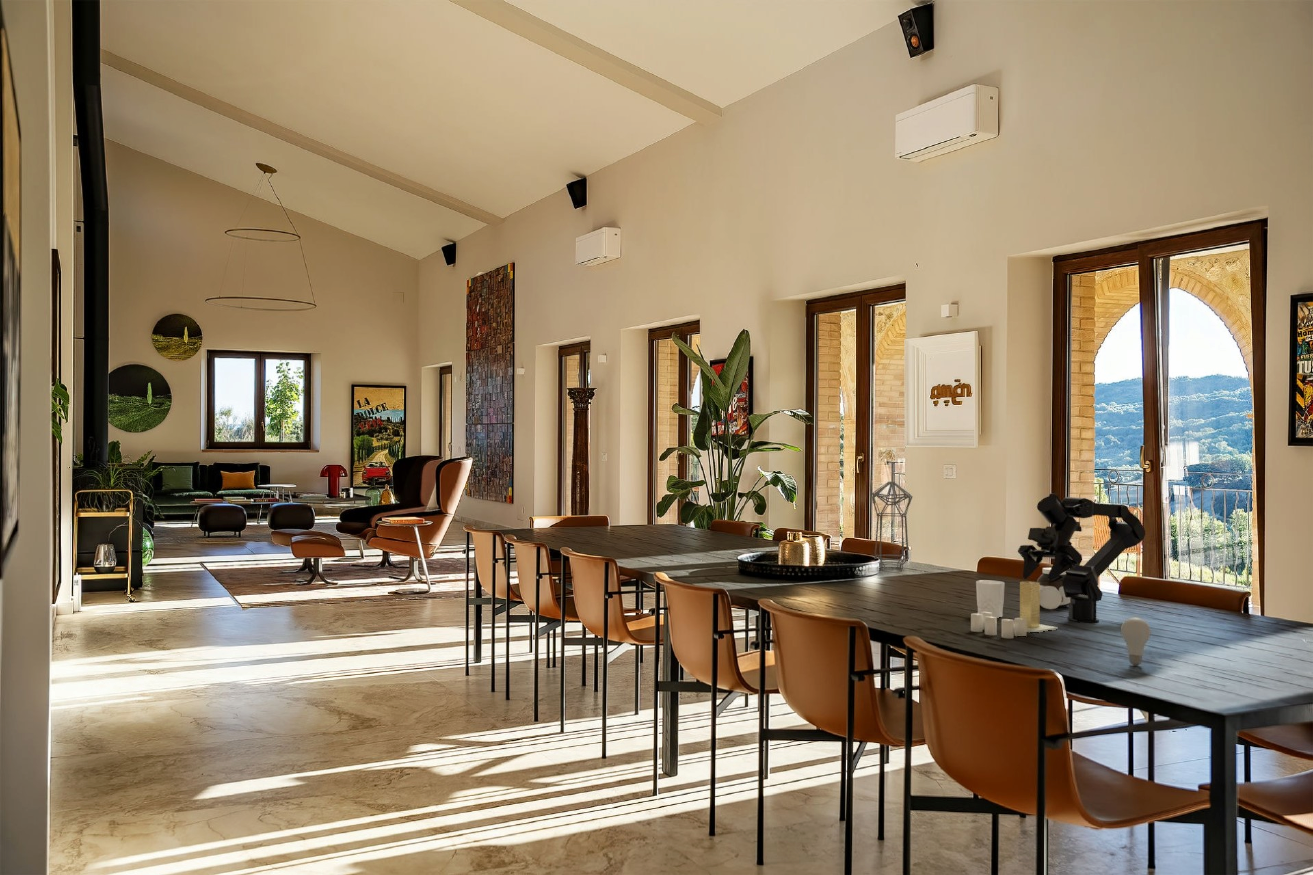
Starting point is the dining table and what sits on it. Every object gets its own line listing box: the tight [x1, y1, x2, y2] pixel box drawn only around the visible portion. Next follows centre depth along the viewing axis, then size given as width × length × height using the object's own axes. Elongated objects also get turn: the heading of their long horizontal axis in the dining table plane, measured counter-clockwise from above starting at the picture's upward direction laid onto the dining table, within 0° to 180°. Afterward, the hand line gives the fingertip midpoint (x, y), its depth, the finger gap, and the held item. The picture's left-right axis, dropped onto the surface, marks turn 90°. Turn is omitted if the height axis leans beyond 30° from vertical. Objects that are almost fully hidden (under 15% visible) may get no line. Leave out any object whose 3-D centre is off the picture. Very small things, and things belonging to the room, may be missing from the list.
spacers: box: [970, 612, 1028, 639], centre depth 268 cm, size 8×14×4 cm, turn 32°
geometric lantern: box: [870, 480, 913, 571], centre depth 400 cm, size 16×16×35 cm
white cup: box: [975, 579, 1005, 619], centre depth 294 cm, size 8×8×10 cm
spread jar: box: [1036, 567, 1070, 610], centre depth 311 cm, size 12×11×12 cm
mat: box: [1027, 623, 1058, 633], centre depth 275 cm, size 10×10×1 cm
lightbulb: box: [1120, 617, 1151, 667], centre depth 230 cm, size 6×6×11 cm
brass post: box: [1019, 580, 1041, 628], centre depth 275 cm, size 4×4×12 cm
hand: (1036, 578), depth 278 cm, fingers open, 9 cm apart
